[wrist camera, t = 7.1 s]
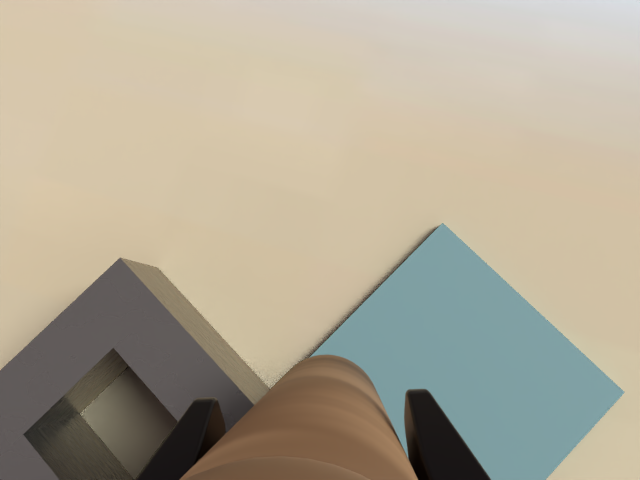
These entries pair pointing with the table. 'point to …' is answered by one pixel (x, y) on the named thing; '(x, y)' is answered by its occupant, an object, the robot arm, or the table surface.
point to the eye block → (112, 373)
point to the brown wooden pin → (311, 431)
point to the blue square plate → (475, 360)
